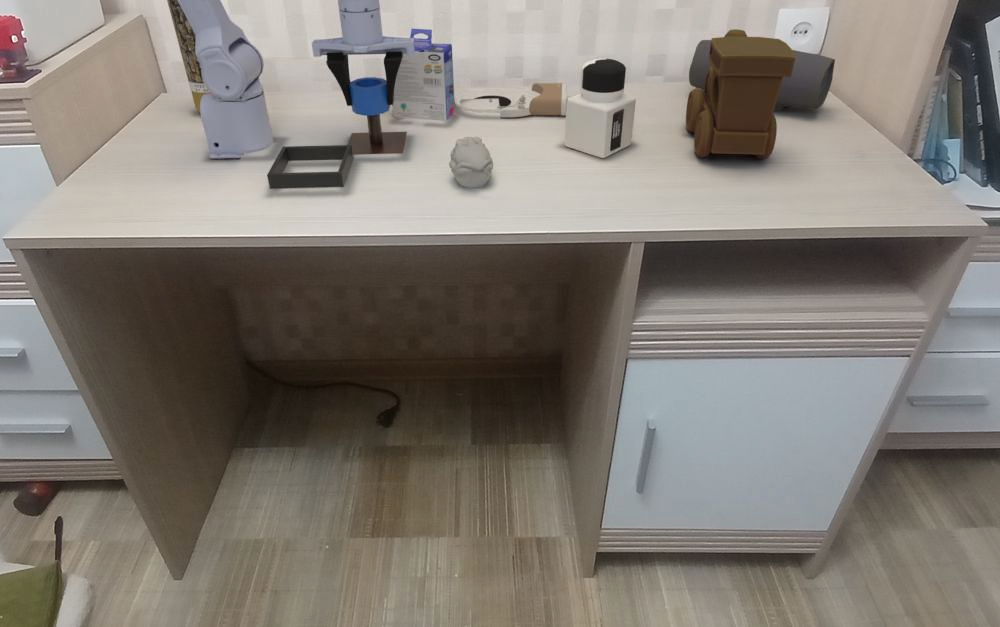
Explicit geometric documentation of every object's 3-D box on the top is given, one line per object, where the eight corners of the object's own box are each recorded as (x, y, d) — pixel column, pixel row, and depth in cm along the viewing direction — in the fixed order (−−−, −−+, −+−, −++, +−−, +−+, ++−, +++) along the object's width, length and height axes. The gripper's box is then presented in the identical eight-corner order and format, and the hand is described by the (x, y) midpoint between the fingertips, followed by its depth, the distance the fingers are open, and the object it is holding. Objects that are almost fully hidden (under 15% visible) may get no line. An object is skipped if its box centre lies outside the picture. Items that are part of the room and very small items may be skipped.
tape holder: (344, 160, 108) (339, 125, 104) (352, 138, 115) (347, 104, 112) (403, 159, 108) (400, 123, 105) (407, 137, 115) (404, 103, 112)
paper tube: (244, 107, 128) (210, -46, 113) (213, 118, 123) (174, -39, 109) (219, 101, 131) (183, -49, 116) (188, 111, 126) (146, -43, 112)
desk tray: (271, 194, 98) (266, 174, 96) (286, 165, 106) (282, 146, 105) (344, 193, 98) (341, 173, 97) (354, 163, 107) (351, 144, 105)
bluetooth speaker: (683, 99, 129) (691, 42, 123) (702, 85, 135) (711, 31, 130) (811, 123, 119) (826, 63, 113) (825, 107, 125) (840, 49, 119)
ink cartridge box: (456, 115, 124) (452, 28, 115) (448, 126, 119) (444, 37, 111) (403, 111, 125) (395, 26, 117) (393, 122, 121) (384, 34, 112)
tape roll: (350, 115, 105) (346, 89, 103) (355, 103, 110) (351, 77, 107) (388, 115, 105) (385, 88, 103) (391, 102, 110) (388, 76, 108)
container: (632, 145, 112) (640, 61, 104) (603, 159, 107) (610, 73, 100) (592, 133, 116) (598, 51, 108) (563, 146, 111) (567, 62, 104)
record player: (566, 101, 119) (449, 100, 121) (565, 119, 121) (450, 118, 123) (566, 80, 129) (458, 79, 130) (565, 97, 131) (459, 96, 132)
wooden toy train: (776, 172, 103) (803, 55, 93) (696, 170, 104) (715, 54, 94) (749, 123, 119) (770, 19, 109) (680, 121, 120) (695, 18, 110)
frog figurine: (484, 174, 103) (483, 128, 99) (501, 193, 98) (500, 145, 94) (444, 180, 101) (441, 134, 97) (459, 200, 96) (457, 152, 92)
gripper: (302, 15, 96) (317, 113, 104) (409, 13, 96) (416, 111, 104) (311, 4, 101) (325, 97, 109) (412, 2, 102) (419, 95, 110)
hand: (370, 103), depth 107 cm, fingers closed on tape roll, 5 cm apart
